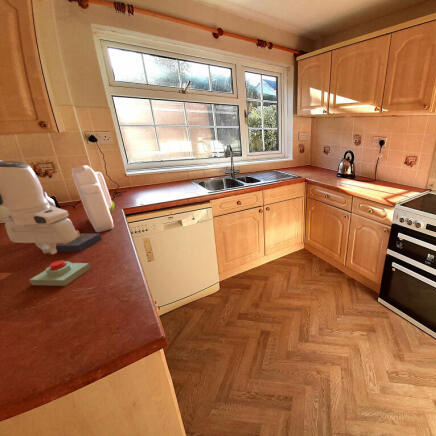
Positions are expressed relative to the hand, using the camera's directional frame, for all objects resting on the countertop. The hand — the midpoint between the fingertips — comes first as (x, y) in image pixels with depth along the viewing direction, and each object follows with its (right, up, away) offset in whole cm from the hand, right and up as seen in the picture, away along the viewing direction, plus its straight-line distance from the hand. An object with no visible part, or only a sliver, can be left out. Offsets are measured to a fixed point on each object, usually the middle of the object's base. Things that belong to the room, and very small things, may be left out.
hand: (51, 253), depth 81 cm
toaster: (-17, +8, +46) cm, 50 cm away
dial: (-14, +3, +24) cm, 28 cm away
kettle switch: (0, -5, +2) cm, 6 cm away
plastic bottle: (-36, +5, +40) cm, 54 cm away
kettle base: (+1, -8, +4) cm, 9 cm away
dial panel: (-14, 0, +25) cm, 29 cm away
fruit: (-27, +14, +60) cm, 67 cm away
